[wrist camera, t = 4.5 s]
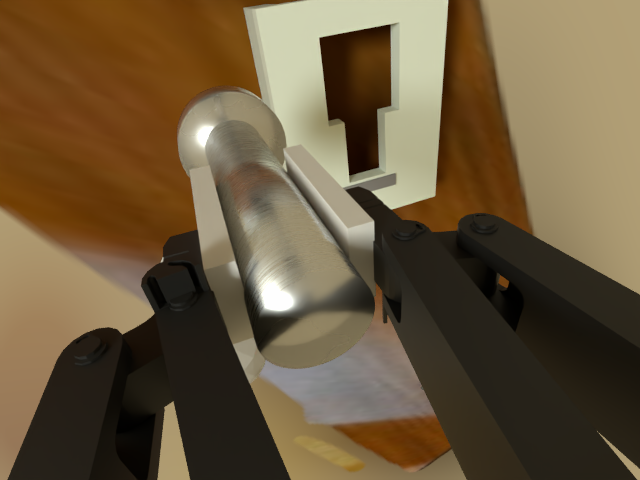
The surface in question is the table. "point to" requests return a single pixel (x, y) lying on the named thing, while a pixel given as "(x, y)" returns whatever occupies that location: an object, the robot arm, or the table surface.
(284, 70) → the keyhole board
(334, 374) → the table surface
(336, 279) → the steel peg
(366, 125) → the table surface
